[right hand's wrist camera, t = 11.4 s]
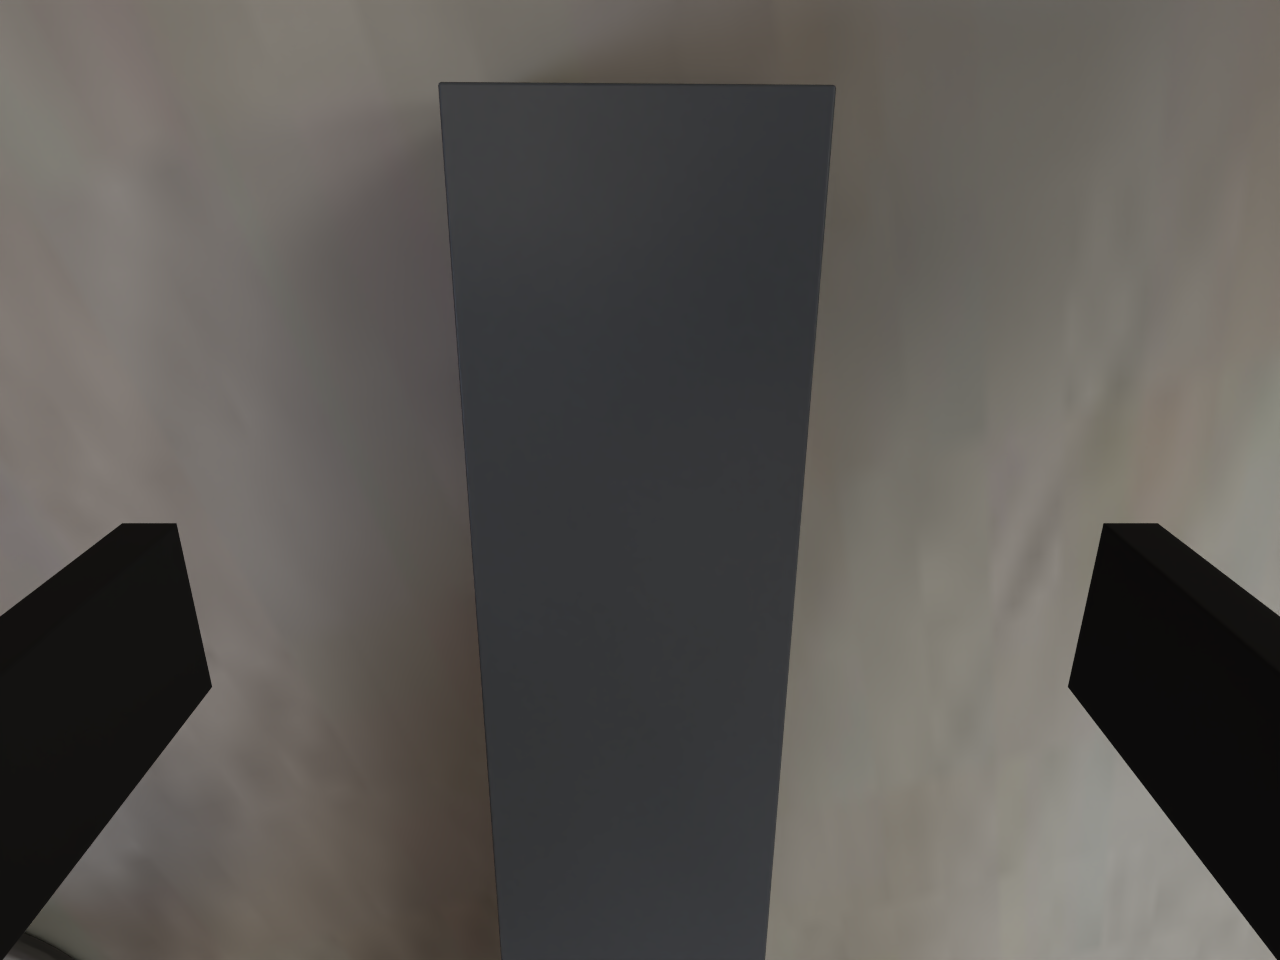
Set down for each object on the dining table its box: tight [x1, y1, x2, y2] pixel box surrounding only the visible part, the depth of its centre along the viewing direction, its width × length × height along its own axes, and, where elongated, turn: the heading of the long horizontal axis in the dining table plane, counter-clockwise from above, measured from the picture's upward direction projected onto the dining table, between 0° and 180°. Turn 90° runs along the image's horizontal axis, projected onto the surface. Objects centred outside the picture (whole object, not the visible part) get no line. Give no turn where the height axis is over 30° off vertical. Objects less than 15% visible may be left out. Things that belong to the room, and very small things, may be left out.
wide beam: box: [438, 82, 836, 960], centre depth 32 cm, size 50×9×7 cm, turn 0°
